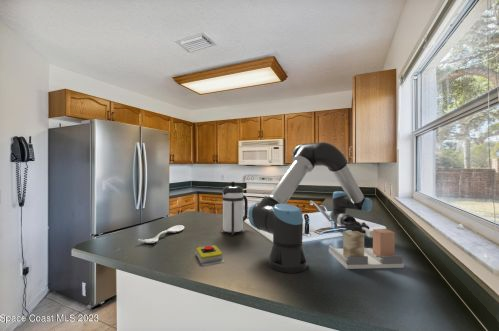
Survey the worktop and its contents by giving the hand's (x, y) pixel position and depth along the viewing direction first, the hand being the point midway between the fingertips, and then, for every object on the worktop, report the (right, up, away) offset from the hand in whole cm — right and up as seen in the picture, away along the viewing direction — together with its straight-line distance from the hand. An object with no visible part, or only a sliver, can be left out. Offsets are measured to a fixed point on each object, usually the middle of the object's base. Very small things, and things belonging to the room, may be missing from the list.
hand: (371, 234), depth 104 cm
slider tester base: (-7, -8, -8) cm, 13 cm away
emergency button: (-73, -9, -6) cm, 74 cm away
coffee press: (-65, -8, +32) cm, 73 cm away
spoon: (-103, -8, +22) cm, 106 cm away
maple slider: (-14, -6, -13) cm, 20 cm away
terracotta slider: (0, -7, -10) cm, 12 cm away
